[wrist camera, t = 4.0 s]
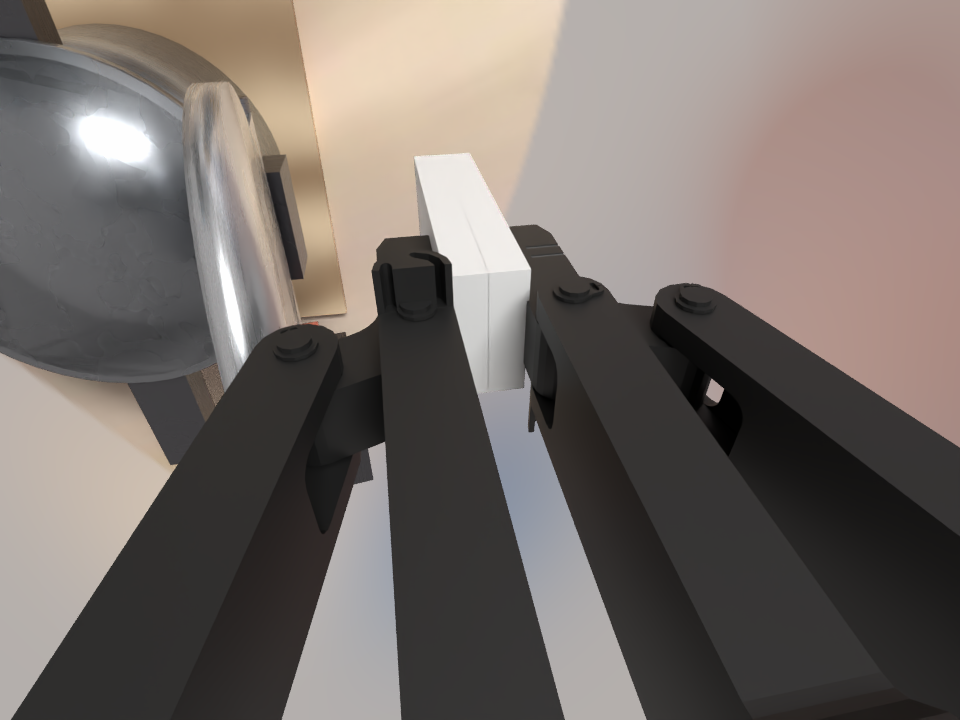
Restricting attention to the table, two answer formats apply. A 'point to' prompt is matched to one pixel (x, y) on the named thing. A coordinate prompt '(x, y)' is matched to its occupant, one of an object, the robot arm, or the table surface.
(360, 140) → the table surface
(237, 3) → the trivet
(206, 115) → the lid
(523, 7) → the table surface
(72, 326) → the pot
